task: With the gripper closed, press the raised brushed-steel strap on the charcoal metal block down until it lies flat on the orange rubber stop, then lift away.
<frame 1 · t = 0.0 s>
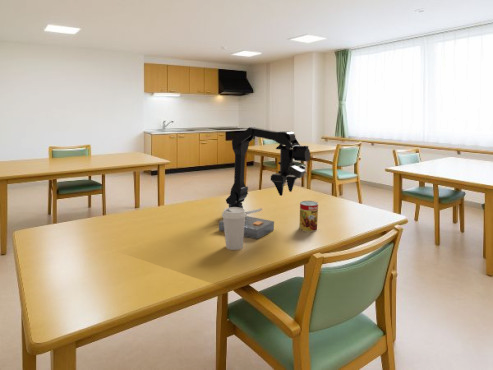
hand: (285, 193, 168), 15 cm above the table, tool pointing down, fingers open, 9 cm apart
canned food: (308, 229, 165), on the table
charcoal block: (246, 230, 163), on the table
steel strap: (245, 213, 162), point 8 cm above the table, hinge at 20.0°
coffee cup: (234, 247, 144), on the table
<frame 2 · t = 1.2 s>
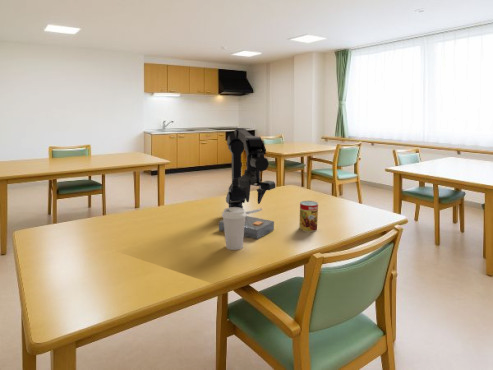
hand: (253, 202, 158), 13 cm above the table, tool pointing down, fingers open, 5 cm apart
nothing on the table moved.
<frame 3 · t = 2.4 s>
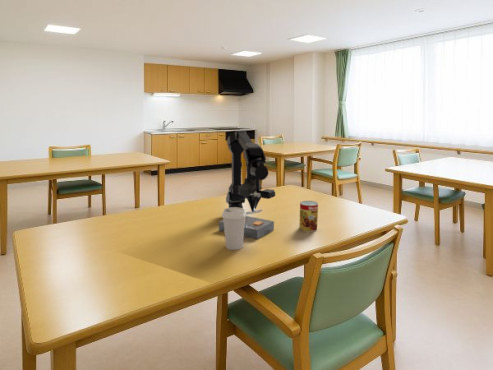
hand: (253, 211, 159), 9 cm above the table, tool pointing down, fingers closed
steel strap: (245, 213, 162), point 8 cm above the table, hinge at 18.6°, touching gripper
everything else where it was.
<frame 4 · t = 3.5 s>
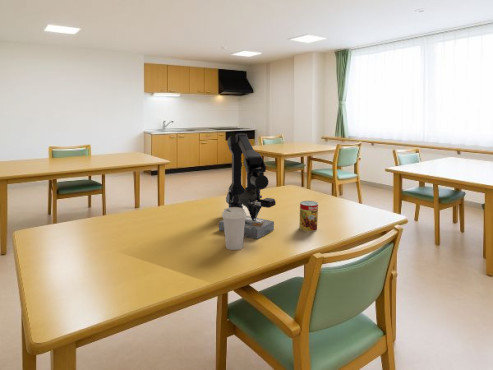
hand: (253, 219, 160), 6 cm above the table, tool pointing down, fingers closed, pressing on steel strap
steel strap: (246, 219, 162), point 5 cm above the table, hinge at 0.9°, touching gripper
everything else where it was.
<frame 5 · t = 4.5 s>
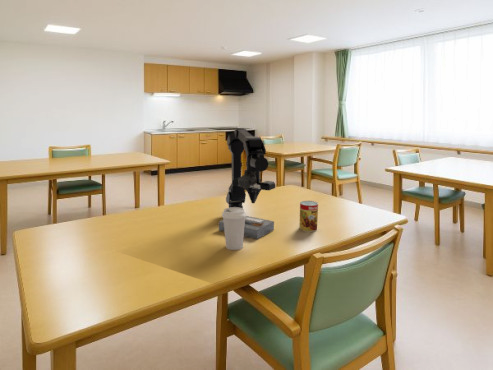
hand: (253, 203, 158), 13 cm above the table, tool pointing down, fingers closed
steel strap: (246, 219, 162), point 5 cm above the table, hinge at 0.7°
everything else where it was.
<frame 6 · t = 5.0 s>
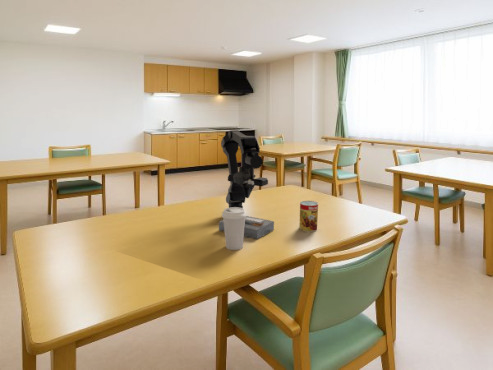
hand: (247, 197, 169), 13 cm above the table, tool pointing down, fingers closed
nothing on the table moved.
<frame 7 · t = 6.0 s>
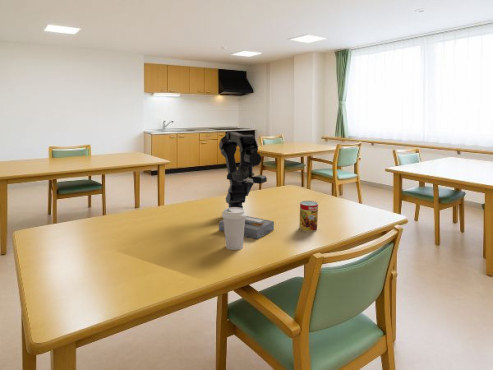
hand: (246, 195, 171), 13 cm above the table, tool pointing down, fingers closed
nothing on the table moved.
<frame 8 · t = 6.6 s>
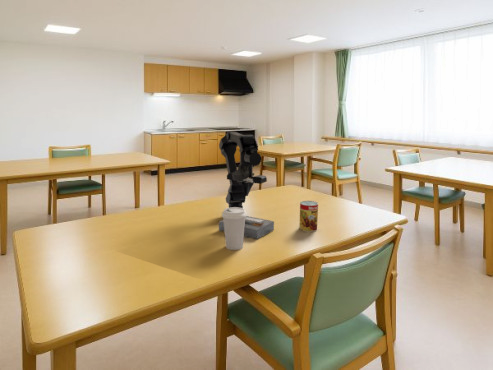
hand: (246, 195, 171), 13 cm above the table, tool pointing down, fingers closed
nothing on the table moved.
at the end: steel strap at +1° (first picture: +20°); coffee cup moved 0.2 cm from its start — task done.
